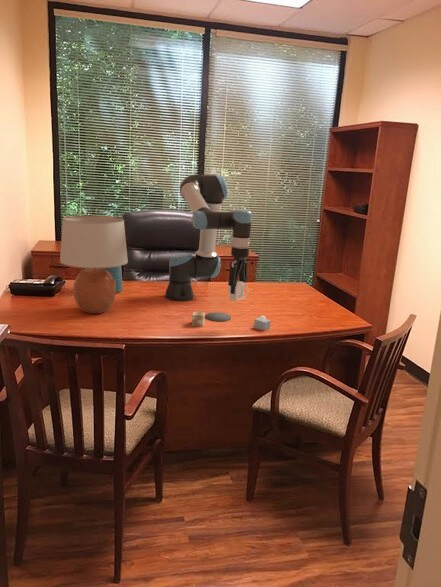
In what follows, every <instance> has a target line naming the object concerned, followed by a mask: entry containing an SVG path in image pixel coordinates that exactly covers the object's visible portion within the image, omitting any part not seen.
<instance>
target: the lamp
mask: <svg viewBox="0 0 441 587" xmlns="http://www.w3.org/2000/svg"><path fill="white" fill-rule="evenodd" d="M60 239H61V241H60V242H61V244H60V254H59V255H60V256H59V262H60V263H61V265H64V266H67V267H71V268H79V269H82V270H81V271H80V272H79V273H78V275H77V276H76V277H75V280H74V282H73V297H74V300H75V303H76V305H77V307H78V308H79V309H80V310H81V311H82V312H85V313H86V312H87V314H90V313H99V314H103V313H105V312H107V311H108V310H109V309H111V308H112V305H113V304H114V301H115V297H116V293H115V290H116V285H115V281H114V278H113V277H112V276H111V274H110V273H109V271H107V270H106V269H103V268H111V267H118V266H121V267H122V266H124V265H127V264H128V262H129V260H128V251H127V250H128V248H127V241H126V240H127V238H126V229H125V220H124V219H123V218H121V217H115V216H108V215H107V216H105V215H72V216H71V215H70V216H65V217H63V218H62V228H61V238H60ZM102 312H103V313H102Z"/></svg>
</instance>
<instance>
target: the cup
mask: <svg viewBox="0 0 441 587" xmlns="http://www.w3.org/2000/svg"><path fill="white" fill-rule="evenodd" d="M228 282H229V279H228V281H227V283H228ZM243 285H245V286H246V288H247V289H246V290H247V292H246V294H244V297H239V296H240V293H241V289H242V286H243ZM227 286H228V287H227V288H228V297H229V298H228V299H229V300H230V289H231V286H229V285H228V284H227ZM236 286H237V296H236V301H241V300H242V299H245V298H246V297H247V296H248V294H249V292H250V287H249V286H248V285H247V284H246V283H245V284H243V282H242V281H239V280H237V284H236Z"/></svg>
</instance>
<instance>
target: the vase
mask: <svg viewBox="0 0 441 587" xmlns="http://www.w3.org/2000/svg"><path fill="white" fill-rule="evenodd" d="M103 269H106V270H107V271H109V273H110V274H111V276H112V277H113V278H114V281H115V285H116V290H115V294H118V293H117V292H119V293H120V292H122V291H123V290H124V289H123V288H124V286H123V276H122V274H123V272H122V266H118V267H111V268H103Z"/></svg>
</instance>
